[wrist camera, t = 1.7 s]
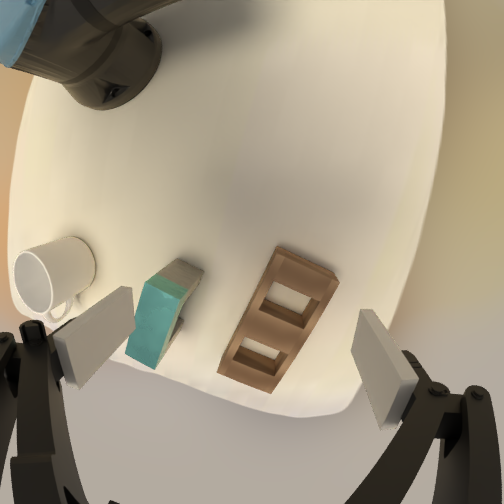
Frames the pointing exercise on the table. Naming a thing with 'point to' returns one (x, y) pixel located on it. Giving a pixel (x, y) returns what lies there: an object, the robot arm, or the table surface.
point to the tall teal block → (161, 311)
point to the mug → (53, 275)
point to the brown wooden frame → (277, 321)
